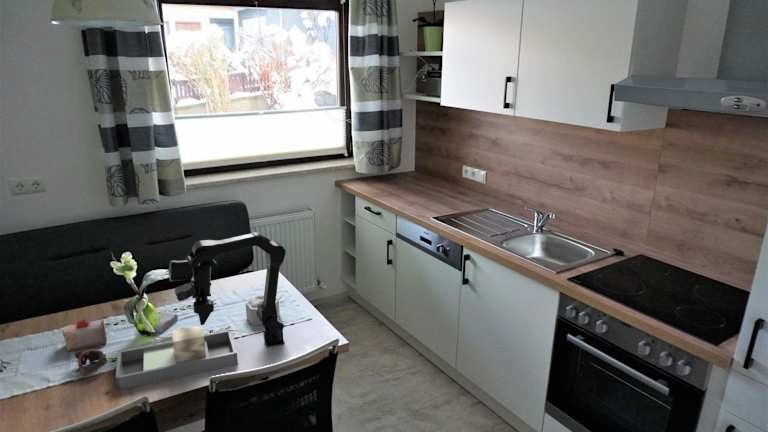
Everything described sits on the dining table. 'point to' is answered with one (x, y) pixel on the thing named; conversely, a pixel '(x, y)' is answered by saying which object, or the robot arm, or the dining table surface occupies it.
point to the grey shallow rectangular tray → (172, 361)
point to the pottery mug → (92, 357)
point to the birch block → (188, 343)
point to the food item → (84, 334)
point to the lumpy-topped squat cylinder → (252, 309)
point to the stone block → (166, 321)
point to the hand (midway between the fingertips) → (200, 318)
